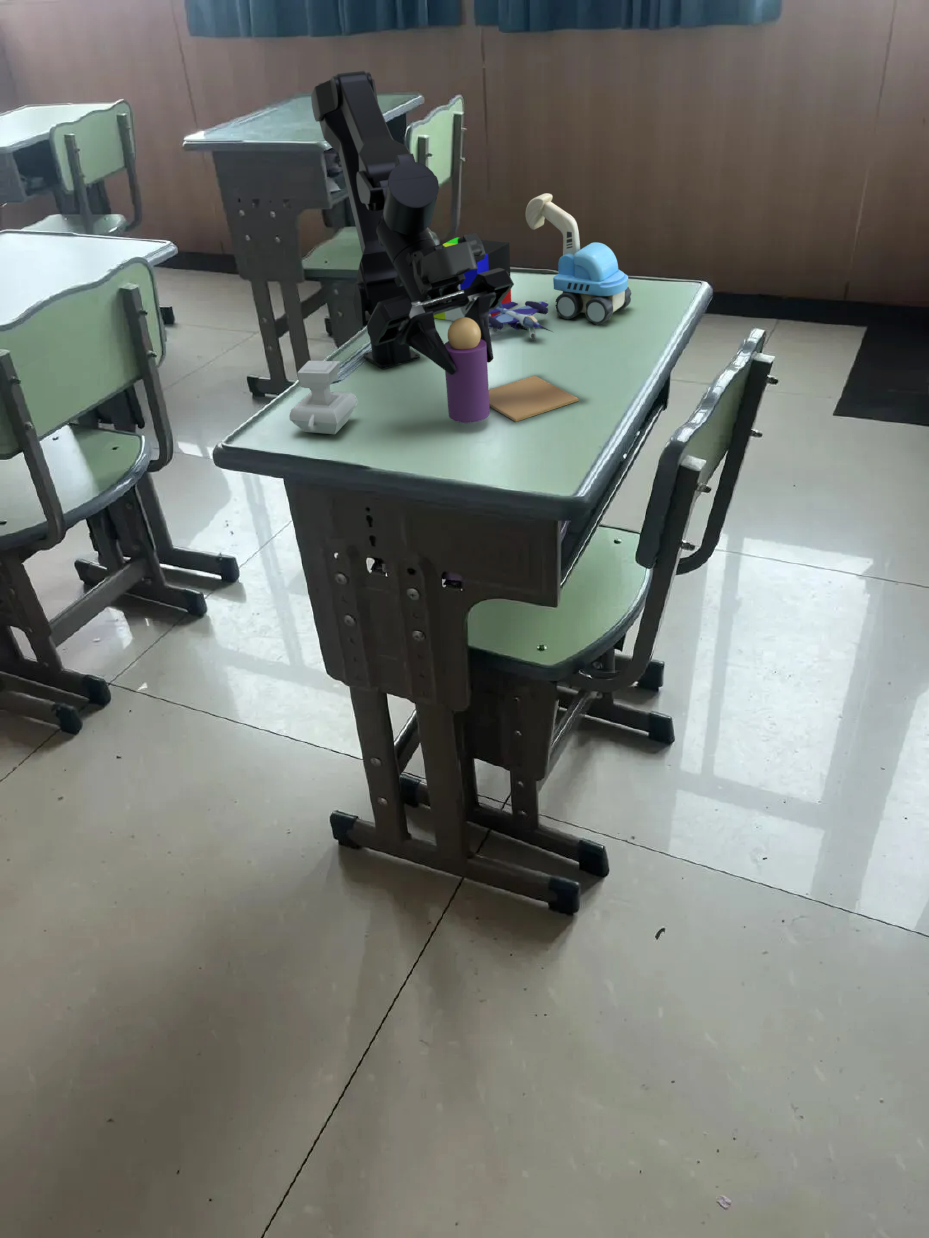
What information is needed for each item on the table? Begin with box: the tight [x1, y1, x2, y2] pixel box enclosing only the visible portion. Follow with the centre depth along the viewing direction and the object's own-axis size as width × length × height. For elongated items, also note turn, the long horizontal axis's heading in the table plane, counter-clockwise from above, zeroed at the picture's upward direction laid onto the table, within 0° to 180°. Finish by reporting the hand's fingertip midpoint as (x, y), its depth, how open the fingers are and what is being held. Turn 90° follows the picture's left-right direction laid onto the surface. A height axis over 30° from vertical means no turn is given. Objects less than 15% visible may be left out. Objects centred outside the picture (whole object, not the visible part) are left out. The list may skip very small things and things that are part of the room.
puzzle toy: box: [434, 236, 512, 322], centre depth 148 cm, size 10×10×10 cm
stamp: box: [289, 360, 359, 435], centre depth 116 cm, size 9×7×8 cm
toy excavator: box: [525, 193, 632, 325], centre depth 143 cm, size 9×17×17 cm, turn 54°
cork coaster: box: [489, 375, 579, 423], centre depth 122 cm, size 10×10×1 cm
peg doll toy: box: [444, 317, 491, 424], centre depth 112 cm, size 5×5×12 cm
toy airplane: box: [489, 300, 553, 342], centre depth 141 cm, size 13×14×4 cm
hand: (472, 367), depth 111 cm, fingers closed on peg doll toy, 5 cm apart
